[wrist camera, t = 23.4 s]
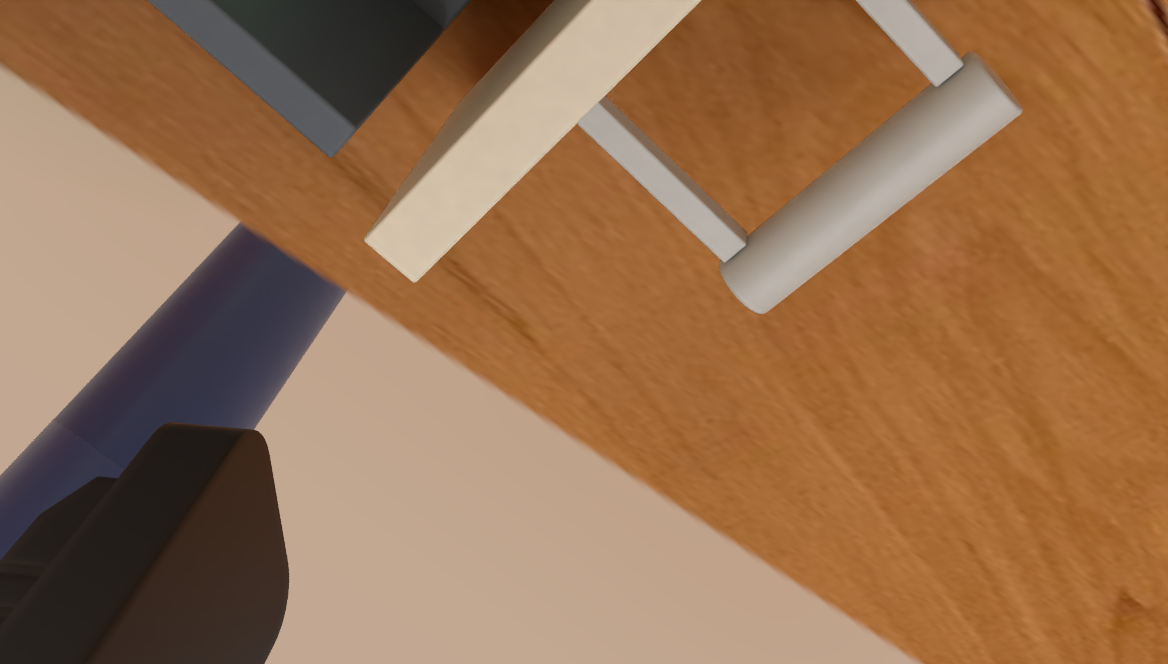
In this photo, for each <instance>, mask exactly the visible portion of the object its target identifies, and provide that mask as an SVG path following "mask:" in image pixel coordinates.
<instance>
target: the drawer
mask: <svg viewBox="0 0 1168 664" xmlns="http://www.w3.org/2000/svg"><path fill="white" fill-rule="evenodd" d="M148 1H149V2H150V3H151V4H152V5H154V6H155V7H156V8H157V9H158V10H159V11H161V12H162V13H163V14H164V15H165V16H166V17H167V18H169V19H170V20H171V21H172V22H173V23H174V24H176V25H177V26H178V27H179V28H180V29H181V30H182V31H184V32H185V33H186V34H187V35H188V36H189V37H191V38H192V39H193V40H194V41H195V42H196V43H198V44H199V45H200V46H201V47H202V48H203V49H204V50H206V51H207V52H208V53H209V54H210V55H211V56H213V57H214V58H215V59H216V60H217V61H218V62H219V63H221V64H222V65H223V66H224V67H225V68H226V69H228V70H229V71H230V72H231V73H232V74H233V75H235V76H236V77H237V78H238V79H239V80H240V81H241V82H243V83H244V84H245V85H246V86H247V87H248V88H250V89H251V90H252V91H253V92H254V93H255V94H257V95H258V96H259V97H260V98H261V99H262V100H263V101H265V102H266V103H267V104H268V105H269V106H270V107H272V108H273V109H274V110H275V111H276V112H277V113H278V114H280V115H281V116H282V117H283V118H284V119H285V120H287V121H288V122H289V123H290V124H291V125H292V126H294V127H295V128H296V129H297V130H298V131H299V132H300V133H302V134H303V135H304V136H305V137H306V138H307V139H309V140H310V141H311V142H312V143H313V144H314V145H315V146H317V147H318V148H319V149H320V150H321V151H322V152H324V153H325V154H326V155H327V156H328V157H333V156H335V155H336V153H337V152H338V151H339V150H340V149H341V148H342V147H343V145H344V144H345V143H346V142H347V141H348V140H349V139H350V138H351V136H352V135H353V134H354V133H355V132H356V131H357V130H358V128H359V127H360V126H361V125H362V124H363V123H364V122H365V121H366V119H367V118H368V117H369V116H370V115H371V114H372V113H373V111H374V110H375V109H376V108H377V107H378V106H379V105H380V103H381V102H382V101H383V100H384V99H385V98H386V97H387V96H388V94H389V93H390V92H391V91H392V90H393V89H394V88H395V86H396V85H397V84H398V83H399V82H400V81H401V80H402V79H403V77H404V76H405V75H406V74H407V73H408V72H409V71H410V69H411V68H412V67H413V66H414V65H415V64H416V63H417V61H418V60H419V59H420V58H421V57H422V56H423V55H424V54H425V52H426V51H427V50H428V49H429V48H430V47H431V46H432V44H433V43H434V42H435V41H436V40H437V39H438V38H439V36H440V35H441V34H442V33H443V32H444V31H445V30H446V29H447V27H448V26H449V25H450V24H451V23H452V22H453V21H454V19H455V18H456V17H457V16H458V15H459V14H460V13H461V11H462V10H463V9H464V8H465V7H466V6H467V5H468V4H469V2H470V1H471V0H148ZM700 1H701V0H554V1H553V2H552V3H551V4H550V5H549V6H548V7H547V8H546V9H545V10H544V12H543V13H542V14H541V15H540V16H539V17H538V18H537V19H536V20H535V21H534V22H533V23H532V24H531V26H530V27H529V28H528V29H527V30H526V31H525V32H524V33H523V34H522V35H521V36H520V37H519V38H518V40H517V41H516V42H515V43H514V44H513V45H512V46H511V47H510V48H509V49H508V50H507V51H506V53H505V54H504V55H503V56H502V57H501V58H500V59H499V60H498V61H497V62H496V63H495V64H494V65H493V67H492V68H491V69H490V70H489V71H488V72H487V73H486V74H485V75H484V76H483V77H482V78H481V79H480V81H479V82H478V83H477V84H476V85H475V86H474V87H473V88H472V89H471V90H470V91H469V92H468V93H467V95H466V96H465V97H464V98H463V99H462V100H461V101H460V102H459V104H458V105H457V107H456V108H455V110H454V111H453V112H452V114H451V115H450V117H449V118H448V120H447V121H446V122H445V124H444V125H443V127H442V128H441V130H440V131H439V132H438V134H437V135H436V137H435V138H434V139H433V141H432V142H431V144H430V145H429V147H428V148H427V149H426V151H425V152H424V154H423V155H422V157H421V158H420V159H419V161H418V162H417V164H416V165H415V167H414V168H413V169H412V171H411V172H410V174H409V175H408V176H407V178H406V179H405V181H404V182H403V184H402V185H401V186H400V188H399V189H398V191H397V192H396V194H395V195H394V196H393V198H392V199H391V201H390V202H389V204H388V205H387V206H386V208H385V209H384V211H383V212H382V213H381V215H380V216H379V218H378V219H377V221H376V222H375V223H374V225H373V226H372V228H371V229H370V231H369V232H368V233H367V235H366V236H365V238H364V241H365V242H366V243H367V244H368V245H369V246H371V247H372V248H373V249H374V250H375V251H376V252H378V253H379V254H380V255H381V256H382V257H384V258H385V259H386V260H387V261H388V262H389V263H391V264H392V265H393V266H394V267H395V268H396V269H398V270H399V271H400V272H401V273H402V274H404V275H405V276H406V277H407V278H408V279H409V280H411V281H412V282H417V281H418V280H419V279H420V278H421V277H422V276H423V275H424V274H425V273H426V272H427V271H428V270H429V269H430V268H431V267H432V266H433V265H434V264H435V263H436V262H437V261H438V260H439V259H440V258H441V257H442V256H443V255H444V254H445V253H446V252H447V251H448V250H449V249H450V248H451V247H452V246H453V245H454V244H455V243H456V242H457V241H458V240H459V239H460V238H461V237H462V236H463V235H464V234H466V233H467V232H468V231H469V230H470V229H471V228H472V227H473V226H474V225H475V224H476V223H477V222H478V221H479V220H480V219H481V218H482V217H483V216H484V215H485V214H486V213H487V212H488V211H489V210H490V209H491V208H492V207H493V206H494V205H495V204H496V203H497V202H498V201H499V200H500V199H501V198H502V197H503V196H504V195H505V194H506V193H507V192H508V191H509V190H510V189H511V188H512V187H513V186H514V185H515V184H516V183H517V182H518V181H519V180H520V179H521V178H522V177H523V176H524V175H525V174H526V173H527V172H528V171H529V170H530V169H531V168H532V167H533V166H534V165H535V164H536V163H537V162H538V161H539V160H540V159H541V158H542V157H543V156H544V155H545V154H546V153H548V152H549V151H550V150H551V149H552V148H553V147H554V146H555V145H556V144H557V143H558V142H559V141H560V140H561V139H562V138H563V137H564V136H565V135H566V134H567V133H568V132H569V131H570V130H571V129H572V128H573V127H574V126H575V125H576V124H578V125H579V126H580V127H581V128H582V129H583V130H584V131H585V132H586V133H587V134H588V135H589V136H590V137H592V138H593V139H594V140H595V141H596V142H597V143H598V144H599V145H600V146H601V147H602V148H603V149H604V150H605V151H606V152H607V153H608V154H609V155H611V156H612V157H613V158H614V159H615V160H616V161H617V162H618V163H619V164H620V165H621V166H622V167H623V168H624V169H625V170H626V171H627V172H629V173H630V174H631V175H632V176H633V177H634V178H635V179H636V180H637V181H638V182H639V183H640V184H641V185H642V186H643V187H644V188H645V189H647V190H648V191H649V192H650V193H651V194H652V195H653V196H654V197H655V198H656V199H657V200H658V201H659V202H660V203H661V204H662V205H663V206H664V207H666V208H667V209H668V210H669V211H670V212H671V213H672V214H673V215H674V216H675V217H676V218H677V219H678V220H679V221H680V222H681V223H682V224H684V225H685V226H686V227H687V228H688V229H689V230H690V231H691V232H692V233H693V234H694V235H695V236H696V237H697V238H698V239H699V240H700V241H701V242H703V243H704V244H705V245H706V246H707V247H708V248H709V249H710V250H711V251H712V252H713V253H714V254H715V255H716V256H717V257H718V258H719V259H720V261H719V269H720V272H721V275H722V277H723V279H724V281H725V282H726V284H727V286H728V287H729V289H730V290H731V291H732V293H733V294H734V295H735V296H736V297H737V298H738V299H739V300H740V301H741V302H742V303H743V304H744V305H745V306H746V307H748V308H749V309H750V310H752V311H754V312H756V313H758V314H764V313H766V312H768V311H769V310H770V309H772V308H773V307H774V306H775V305H777V304H778V303H779V302H781V301H782V300H783V299H784V298H786V297H787V296H788V295H790V294H791V293H792V292H793V291H795V290H796V289H797V288H799V287H800V286H801V285H802V284H804V283H805V282H806V281H807V280H809V279H810V278H811V277H813V276H814V275H815V274H816V273H818V272H819V271H820V270H822V269H823V268H824V267H825V266H827V265H828V264H829V263H831V262H832V261H833V260H834V259H836V258H837V257H838V256H840V255H841V254H842V253H843V252H845V251H846V250H847V249H848V248H850V247H851V246H852V245H854V244H855V243H856V242H857V241H859V240H860V239H861V238H863V237H864V236H865V235H866V234H868V233H869V232H870V231H872V230H873V229H874V228H875V227H877V226H878V225H879V224H880V223H882V222H883V221H884V220H886V219H887V218H888V217H889V216H891V215H892V214H893V213H895V212H896V211H897V210H898V209H900V208H901V207H902V206H904V205H905V204H906V203H907V202H909V201H910V200H911V199H913V198H914V197H915V196H916V195H918V194H919V193H920V192H921V191H923V190H924V189H925V188H927V187H928V186H929V185H930V184H932V183H933V182H934V181H936V180H937V179H938V178H939V177H941V176H942V175H943V174H945V173H946V172H947V171H948V170H950V169H951V168H952V167H953V166H955V165H956V164H957V163H959V162H960V161H961V160H962V159H964V158H965V157H966V156H968V155H969V154H970V153H971V152H973V151H974V150H975V149H977V148H978V147H979V146H980V145H982V144H983V143H984V142H986V141H987V140H988V139H989V138H991V137H992V136H993V135H994V134H996V133H997V132H998V131H1000V130H1001V129H1002V128H1003V127H1005V126H1006V125H1007V124H1009V123H1010V122H1011V121H1012V120H1014V119H1015V118H1016V117H1018V116H1019V115H1020V114H1021V113H1022V111H1023V110H1022V107H1021V105H1020V103H1019V102H1018V100H1017V99H1016V98H1015V96H1014V95H1013V94H1012V92H1011V91H1010V90H1009V89H1008V87H1007V86H1006V85H1005V84H1004V82H1003V81H1002V80H1001V79H1000V78H999V77H998V75H997V74H996V73H995V72H994V71H993V70H992V69H991V67H990V66H989V65H988V64H987V63H986V62H985V61H984V60H983V59H982V58H981V57H980V56H979V55H978V54H977V53H975V52H973V51H971V52H968V53H967V54H966V55H965V56H964V57H962V58H961V57H960V55H959V53H958V52H957V51H956V50H955V49H954V48H953V46H952V45H951V44H950V43H949V42H948V41H947V40H946V39H945V38H944V36H943V35H942V34H941V33H940V32H939V31H938V30H937V29H936V28H935V27H934V25H933V24H932V23H931V22H930V21H929V20H928V19H927V18H926V17H925V15H924V14H923V13H922V12H921V11H920V10H919V9H918V8H917V7H916V5H915V4H914V3H913V2H912V1H911V0H855V1H856V2H857V3H858V4H859V5H860V6H861V7H862V8H863V9H864V10H865V11H866V12H867V14H868V15H869V16H870V17H871V18H872V19H873V20H874V21H875V22H876V23H877V24H878V26H879V27H880V28H881V29H882V30H883V31H884V32H885V33H886V34H887V35H888V36H889V37H890V39H891V40H892V41H893V42H894V43H895V44H896V45H897V46H898V47H899V48H900V49H901V50H902V52H903V53H904V54H905V55H906V56H907V57H908V58H909V59H910V60H911V61H912V62H913V63H914V65H915V66H916V67H917V68H918V69H919V70H920V71H921V72H922V73H923V74H924V75H925V76H926V78H927V79H928V80H929V81H930V82H931V84H930V85H929V86H928V87H926V88H925V89H924V90H923V91H922V92H920V93H919V94H918V95H917V96H916V97H914V98H913V99H912V100H911V101H909V102H908V103H907V104H906V105H905V106H903V107H902V108H901V109H900V110H899V111H897V112H896V113H895V114H894V115H893V116H891V117H890V118H889V119H888V120H887V121H885V122H884V123H883V124H882V125H881V126H879V127H878V128H877V129H876V130H875V131H873V132H872V133H871V134H870V135H869V136H867V137H866V138H865V139H864V140H863V141H861V142H860V143H859V144H858V145H857V146H855V147H854V148H853V149H852V150H851V151H849V152H848V153H847V154H846V155H845V156H843V157H842V158H841V159H840V160H839V161H837V162H836V163H835V164H834V165H833V166H831V167H830V168H829V169H828V170H827V171H825V172H824V173H823V174H822V175H820V176H819V177H818V178H817V179H816V180H814V181H813V182H812V183H811V184H810V185H808V186H807V187H806V188H805V189H804V190H802V191H801V192H800V193H799V194H798V195H796V196H795V197H794V198H793V199H792V200H790V201H789V202H788V203H787V204H786V205H784V206H783V207H782V208H781V209H780V210H778V211H777V212H776V213H775V214H774V215H772V216H771V217H770V218H769V219H768V220H766V221H765V222H764V223H763V224H762V225H760V226H759V227H758V228H757V229H756V230H754V231H753V232H752V233H751V234H750V235H748V236H747V232H746V231H745V230H744V229H743V228H742V227H741V226H740V225H739V224H738V223H737V222H736V221H735V220H734V219H733V218H732V217H731V216H730V215H729V214H728V213H727V212H726V211H725V210H724V209H723V208H722V207H721V206H719V205H718V204H717V203H716V202H715V201H714V200H713V199H712V198H711V197H710V196H709V195H708V194H707V193H706V192H705V191H704V190H703V189H702V188H701V187H700V186H699V185H698V184H697V183H696V182H695V181H694V180H692V179H691V178H690V177H689V176H688V175H687V174H686V173H685V172H684V171H683V170H682V169H681V168H680V167H679V166H678V165H677V164H676V163H675V162H674V161H673V160H672V159H671V158H670V157H669V156H668V155H667V154H666V153H664V152H663V151H662V150H661V149H660V148H659V147H658V146H657V145H656V144H655V143H654V142H653V141H652V140H651V139H650V138H649V137H648V136H647V135H646V134H645V133H644V132H643V131H642V130H641V129H640V128H639V127H637V126H636V125H635V124H634V123H633V122H632V121H631V120H630V119H629V118H628V117H627V116H626V115H625V114H624V113H623V112H622V111H621V110H620V109H619V108H618V107H617V106H616V105H615V104H614V103H613V102H612V101H611V100H609V99H608V98H607V97H606V96H605V95H606V94H607V93H608V92H609V91H610V90H611V89H612V88H613V87H614V86H615V85H616V84H617V83H618V82H619V81H620V80H621V79H622V78H623V77H624V76H625V75H626V74H627V73H628V72H630V71H631V70H632V69H633V68H634V67H635V66H636V65H637V64H638V63H639V62H640V61H641V60H642V59H643V58H644V57H645V56H646V55H647V54H648V53H649V52H650V51H651V50H652V49H653V48H654V47H655V46H656V45H657V44H658V43H659V42H660V41H661V40H662V39H663V38H664V37H665V36H666V35H667V34H668V33H669V32H670V31H671V30H672V29H673V28H674V27H675V26H676V25H677V24H678V23H679V22H680V21H681V20H682V19H683V18H684V17H685V16H686V15H687V14H688V13H689V12H690V11H691V10H692V9H693V8H694V7H695V6H696V5H697V4H698V3H699V2H700Z"/></svg>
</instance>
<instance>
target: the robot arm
mask: <svg viewBox="0 0 1168 664" xmlns="http://www.w3.org/2000/svg"><path fill="white" fill-rule="evenodd" d="M288 589H289V568H288V561H287V554H286V548H285V543H284V537H283V531H282V525H281V519H280V514H279V508H278V502H277V496H276V491H275V484H274V478H273V472H272V466H271V461H270V455H269V451H268V446H267V444H266V441H265V439H264V437H263V436H262V434H260V433H259V432H258V431H256V430H250V429H239V428H229V427H218V426H208V425H197V424H186V423H176V422H169V423H167V424H164V425H163V426H161V427H160V428H158V429H157V431H156V432H155V433H154V434H153V435H152V436H151V437H150V439H149V440H148V441H147V442H146V444H145V445H144V446H143V447H142V449H141V450H140V451H139V452H138V454H137V455H136V456H135V457H134V459H133V460H132V461H131V462H130V464H129V465H128V466H127V468H126V469H125V470H124V471H123V473H122V474H121V475H120V476H119V478H110V477H100V476H97V477H96V478H94V479H93V480H91V481H90V482H88V483H87V484H85V485H84V486H82V487H81V488H79V489H77V490H76V491H74V492H73V493H71V494H70V495H68V496H67V497H65V498H64V499H62V500H61V501H59V502H58V503H56V504H55V505H53V506H52V507H50V508H49V509H47V510H45V511H44V512H42V513H41V514H39V516H38V517H37V518H36V519H35V520H34V521H33V523H32V524H31V525H30V526H29V527H28V528H27V530H26V531H25V532H24V533H23V534H22V535H21V537H20V538H19V539H18V540H17V541H16V542H15V544H14V545H13V546H12V547H11V548H10V550H9V551H8V552H7V553H6V554H5V555H4V557H3V558H2V559H1V560H0V664H264V663H265V661H266V659H267V657H268V655H269V653H270V651H271V649H272V647H273V646H274V643H275V641H276V639H277V637H278V634H279V631H280V629H281V626H282V622H283V619H284V615H285V610H286V605H287V599H288Z"/></svg>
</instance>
